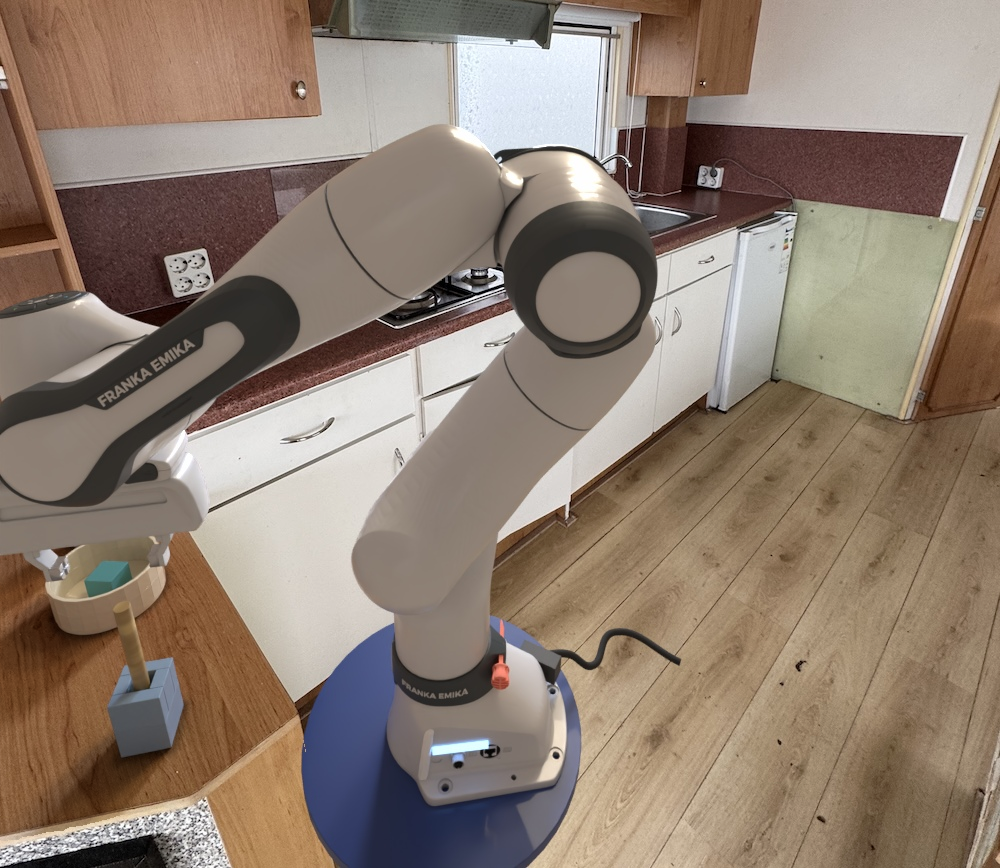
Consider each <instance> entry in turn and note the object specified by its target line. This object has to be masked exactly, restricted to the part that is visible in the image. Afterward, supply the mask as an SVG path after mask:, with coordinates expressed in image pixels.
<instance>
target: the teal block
mask: <svg viewBox="0 0 1000 868" xmlns="http://www.w3.org/2000/svg"><path fill="white" fill-rule="evenodd" d="M131 580H133V579H132V575H131V571H130V567H129V563H128V562H118V561H102V562H101V563H100V564H99V565H98V566H97V567H96V569H95V570H94V571H93V572H92V573H91V574H90V575H89V576H88V577H87V578H86V579H85V580H84V583H85V586H86V590H87V593H88V597H89V598H90V597H95V596H98V595H101V594H105V593H108V592H110V591H112V590H114V589H117V588H119V587H121V586H123V585H124V584H126V583H128V582H129V581H131Z"/></svg>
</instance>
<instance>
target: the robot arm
mask: <svg viewBox="0 0 1000 868" xmlns="http://www.w3.org/2000/svg"><path fill="white" fill-rule="evenodd" d="M500 158H501V160H500V161H499V162H498V159H500ZM498 264H499V265H501V268H502V272H503V274H502V275H503V286H504V289H505V293H506V296H507V299H508V301H509V303H510V305H511V307H512V309H513V310H514V312H515V314H516V315H517V317H518V319H519V320H520V321H521V323H523V326H522V327H521V328H520V329H519V330H518V331H517V332H516V333H515V334H514V336H513V337H512V338H510V339H509V341H508V342H507V343H506V344H505V346H503V347H502V349H501V350H500V352H498V354H497V355H496V356H495V357H494V358H493V359H492V360H491V362H490V363H489V364H488V365H487V367H486V368H485V369H484V370H483V371H482V372H481V373H480V375H479V376H478V377H477V378H476V379H475V381H474V382H473V383H472V384H471V385H470V386H469V387H468V389H467V390H466V391H465V392H464V393H463V394H462V395H461V397H460V398H459V399H458V400H457V401H456V402H455V404H454V405H453V406H452V407H451V409H450V410H449V412H448V413H447V414H446V415H445V417H443V419H442V420H441V422H440V423H439V424H438V425H437V426H435V427H434V428H432V429H431V430H430V431H429V432H428V433H427V434H425V435H424V437H422V439H421V440H420V441H419V443H417V445H416V447H415V448H414V449H413V450H412V452H411V453H410V455H408V457H407V458H406V459H405V462H403V464H402V465H401V466H400V468H399V469H398V471H396V473H395V474H394V476H393V477H392V478H391V480H390V481H389V482H388V484H387V485H386V486H385V488H384V489H383V491H382V492H381V493H380V494H379V496H378V497H377V498H376V500H375V501H374V502H373V504H372V505H371V507H370V508H369V511H368V512H367V515H366V517H365V518H364V521H363V523H362V525H361V528H360V530H359V532H358V535H357V536H356V537H357V538H356V539H355V543H354V545H353V547H352V550H351V556H350V564H351V565H350V566H351V569H352V573H353V577H354V578H355V580H356V584H357V585H358V586H359V588H360V589H361V591H362V592H363V594H364V595H365V596H366V597H367V598H368V600H370V602H372V603H373V604H375V605H376V606H377V607H379V608H380V609H382V610H385V611H386V612H389V613H393V623H394V627H395V633H394V638H393V642H392V647H391V663H392V672H393V677H394V683H395V693H394V699H393V703H392V706H391V709H390V712H389V715H388V720H387V740H388V744H389V748H390V751H391V753H392V755H393V757H394V759H395V760H396V762H397V763H398V764H399V765H400V767H401V768H402V769H403V770H404V771H406V772H407V773H408V774H409V775H410V776H411V777H412V778H413V779H414V780H415V781H416V783H417V785H418V787H419V790H420V792H421V794H422V796H423V798H424V800H425V801H426V803H428V804H429V805H431V806H440V805H446V804H452V803H458V802H464V801H469V800H475V799H481V798H487V797H493V796H499V795H505V794H511V793H516V792H522V791H528V790H534V789H540V788H545V787H550V786H553V785H555V784H556V782H557V780H558V779H559V777H560V775H561V773H562V770H563V767H564V763H565V759H566V752H567V723H566V713H565V707H564V702H563V698H562V695H561V692H560V689H559V687H558V685H557V683H556V680H557V678H558V676H559V674H560V670H562V658H565V659H570V660H572V661H573V662H575V663H576V664H577V665H578V666H579V667H580V668H583V669H584V670H587V671H594V670H597V668H599V667H600V666H601V664H602V662H603V660H604V656H605V653H606V649H607V645H608V643H609V640H611V638H613V637H617V636H624V637H625V636H626V637H628V638H632V639H635V640H637V641H639V643H642V644H644V645H645V646H647V647H648V648H649V649H651V650H653V651H654V652H655V653H656V654H658V655H660V656H661V657H663V658H664V659H666V660H667V661H669V662H671V663H673V664H675V665H676V666H677V667H680V666H681V664H682V663H681V662H682V658H681V657H679V656H677V655H675V654H673V653H671V652H669V651H668V650H666V649H665V648H663V647H662V646H660V645H659V644H657V643H656V642H655V641H653V640H651V639H650V638H648V637H647V636H646V635H644V634H642V633H640V632H638V631H636V630H633V629H629V628H625V627H616V628H615V627H614V628H611V629H608V630H607V631H605V632H604V633H603V635H602V637H601V639H600V641H599V644H598V647H597V651H596V652H597V653H596V655H595V657H594V659H593V660H592V661H587V660H585V659H584V658H583V657H581V656H580V655H579V654H577V653H576V652H574V651H573V650H570V649H565V648H563V649H562V648H556V649H547V648H545V647H544V646H543V647H544V648H543V647H540V646H538V645H536V644H534V643H532V642H530V641H527V640H524V642H523V644H522V646H521V647H520V649H519V648H517V647H515V646H513V645H511V644H509V643H507V641H506V639H504V626H503V621H502V620H503V619H502V620H501V621H500V634H499V633H498V632H497V631H496V630H495V629H494V628H493V627H492V626H491V625H490V615H491V586H492V578H493V571H494V566H495V560H496V554H497V553H496V552H497V545H498V538H499V532H501V530H502V529H503V527H504V526H505V525H506V524H507V523H508V522H509V520H510V519H511V517H512V516H513V515H514V514H515V512H517V510H518V509H519V508H520V506H521V505H522V503H523V502H524V501H525V500H526V498H527V497H528V495H529V494H530V493H531V492H532V490H533V489H534V488H535V486H536V485H538V483H539V482H540V481H541V480H542V478H543V477H544V476H545V475H546V474H547V473H548V472H549V471H550V470H551V469H553V467H554V466H555V465H556V464H557V463H558V462H559V461H560V460H561V459H562V458H563V457H564V456H565V455H566V454H567V453H568V452H570V450H571V449H572V448H574V447H575V446H576V445H577V444H578V443H579V442H580V441H581V440H582V439H583V438H584V437H585V436H586V435H587V434H588V433H589V432H590V431H592V430H593V429H594V427H596V426H597V424H599V422H601V420H603V419H604V417H605V416H606V415H608V414H609V412H610V411H611V410H612V409H613V408H614V406H616V404H617V403H618V402H619V401H620V400H621V398H622V397H623V396H624V395H625V394H626V392H627V391H628V390H629V388H630V387H631V386H632V385H633V383H634V382H635V380H636V379H638V377H639V375H640V374H641V372H642V370H643V369H644V368H645V366H646V364H647V363H648V362H649V360H650V358H651V357H652V355H653V353H654V350H655V347H656V341H657V332H656V327H655V323H654V321H653V318H652V316H651V314H650V311H651V308H652V306H653V303H654V300H655V297H656V292H657V288H658V287H657V286H658V279H659V278H658V275H659V270H658V269H659V267H658V260H657V254H656V250H655V245H654V243H653V240H652V238H651V236H650V234H649V232H648V231H647V229H646V228H645V226H644V225H643V224H642V220H641V218H640V215H639V214H638V212H637V210H636V207H635V205H634V204H633V202H632V200H631V198H630V196H629V194H628V193H627V192H626V191H625V189H624V188H623V187H622V185H620V184H619V183H618V182H617V181H616V180H614V179H613V177H612V176H611V175H610V173H609V172H608V170H607V169H606V167H605V166H604V165H603V164H602V162H600V161H599V160H598V159H597V158H596V157H594V155H592V154H590V153H589V152H587V151H585V150H583V149H581V148H579V147H577V146H576V147H575V146H571V145H568V144H542V145H537V146H533V147H521V148H505V149H501V150H499V151H496V152H495V153H494V154H492V152H490V150H489V149H488V148H487V146H486V145H485V144H484V143H482V142H481V140H479V139H478V138H477V137H476V136H474V134H471V133H470V132H468V131H467V130H465V129H463V128H461V127H458V126H456V125H453V124H447V123H436V124H431V125H428V126H425V127H423V128H421V129H418V130H416V131H414V132H411V133H409V134H407V135H405V136H402V137H400V138H398V139H396V140H394V141H392V142H390V143H388V144H386V145H383V146H382V147H380V148H378V149H376V150H375V151H373V152H371V153H369V154H368V155H366V156H364V157H362V158H360V159H359V160H357V161H356V162H354V163H353V164H351V165H349V166H348V167H346V168H345V169H344V170H341V171H340V172H339V173H337V174H336V175H334V176H333V177H331V178H330V179H328V180H327V181H325V183H323V184H321V186H319V187H317V188H316V189H315V190H314V191H313V192H311V193H310V194H309V195H308V196H306V197H305V198H304V199H302V200H301V202H300V203H298V204H297V205H296V206H295V207H294V208H292V209H291V210H290V211H289V212H288V213H287V214H286V215H285V216H284V217H283V218H281V219H280V221H278V222H277V223H276V224H275V225H274V226H273V227H272V228H271V229H270V230H269V231H268V232H267V233H266V234H265V235H264V236H263V237H262V238H260V240H259V241H258V242H257V243H256V244H254V246H252V247H251V248H250V250H249V251H248V252H246V253H245V254H244V255H243V256H242V257H241V258H240V259H239V260H238V261H237V262H236V263H235V264H234V265H232V267H231V268H229V270H228V271H226V272H225V273H224V274H223V275H222V276H221V277H220V278H219V279H217V281H216V282H214V283H213V284H212V285H211V286H210V287H209V288H208V289H207V290H206V291H204V292H203V294H202V295H200V296H199V297H198V298H197V299H196V300H195V301H194V302H193V303H191V304H190V305H189V306H188V307H186V308H185V309H184V310H182V312H180V313H179V314H177V315H176V316H174V317H173V318H172V319H170V320H168V321H167V322H166V323H164V324H163V325H161V326H156V325H152V324H149V323H145V322H142V321H139V320H136V319H134V318H131V317H128V316H126V315H123V314H121V313H119V312H117V311H115V310H113V309H111V308H109V306H107V305H106V304H105V303H104V302H103V301H101V299H100V298H99V297H98V296H97V295H95V294H94V293H93V292H92V293H91V292H89V291H85V290H84V291H83V290H64V291H57V292H52V293H48V294H45V295H41V296H37V297H32V298H29V299H26V300H23V301H20V302H18V303H15V304H12V305H10V306H8V307H5V308H3V309H2V310H0V400H1V402H0V557H1V556H9V555H17V554H22V556H23V559H24V560H25V561H26V562H28V563H29V564H30V565H32V566H33V567H35V568H37V569H38V570H40V571H42V574H43V576H44V579H45V582H52V581H60V580H64V579H65V578H66V575H67V574H68V573H69V571H70V564H68V563H67V562H68V557H67V556H65V555H62V556H59V555H58V554H57V553H55V552H54V551H53V550H55V549H62V548H63V549H65V548H70V547H74V546H80V545H88V544H96V543H103V542H111V541H119V540H127V539H135V538H143V537H150V536H153V537H155V539H156V542H158V543H159V544H153V545H152V547H151V551H150V552H149V554H148V556H147V557H148V561H149V562H150V564H149V566H150V568H152V567H160V566H164V567H166V566H167V565H168V563H169V560H170V557H171V552H170V547H169V545H170V543H171V541H172V540H173V537H174V534H181V533H190V532H195V531H197V530H199V529H200V528H201V526H202V525H203V523H204V522H205V520H206V519H207V516H208V514H209V513H208V512H209V510H210V507H211V500H210V498H211V497H210V493H209V489H208V485H207V481H206V477H205V476H204V472H203V470H202V467H201V465H200V462H199V461H198V460H197V459H196V457H195V456H194V455H192V454H191V453H189V452H188V451H187V449H188V443H189V436H188V434H187V432H186V429H188V428H189V427H190V426H191V425H192V424H194V423H195V422H196V421H197V420H198V419H200V417H201V416H202V415H204V414H205V413H206V412H207V411H208V410H209V408H210V407H212V406H213V405H214V404H215V403H216V401H217V399H218V398H219V397H220V396H222V395H223V394H225V393H227V392H228V391H229V390H231V389H233V388H234V387H236V386H237V385H239V384H240V383H242V382H244V381H245V380H247V379H250V378H251V377H253V376H255V375H258V374H259V373H261V372H264V371H266V370H268V369H269V368H272V367H274V366H276V365H278V364H280V363H283V362H285V361H287V360H289V359H291V358H294V357H296V356H298V355H299V354H302V353H304V352H307V351H308V350H311V349H312V348H315V347H317V346H319V345H322V344H324V343H326V342H328V341H330V340H333V339H335V338H338V337H340V336H342V335H344V334H347V333H349V332H352V331H353V330H356V329H358V328H360V327H362V326H364V325H366V324H369V323H370V322H371V323H372V322H373V321H375V320H377V319H379V318H381V317H382V316H385V315H387V314H388V313H390V312H392V311H394V310H396V309H397V308H399V307H401V306H403V305H405V304H406V303H408V302H410V301H411V300H413V299H415V298H416V297H418V296H420V295H421V294H422V293H424V292H425V291H427V290H428V289H430V288H432V287H433V286H434V285H436V284H437V283H439V282H440V281H441V280H442V279H444V278H446V277H447V276H449V277H450V276H453V275H455V274H457V273H460V272H463V271H467V270H473V269H478V268H479V269H481V268H497V266H498ZM550 692H553V693H555V694H550ZM553 756H558V757H559V759H554V758H553ZM443 788H448V789H449V790H448V791H447V792H443V791H442V789H443Z"/></svg>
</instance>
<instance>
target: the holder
mask: <svg viewBox="0 0 1000 868" xmlns="http://www.w3.org/2000/svg"><path fill="white" fill-rule="evenodd" d="M145 663H146V667H147V671H148V675H149V679H150V683H151V686H150V689H147V690H142V691H137V692H135V691H134V687H133V683H132V680H131V676H130V672H129V668H128V665H127V664H125V665H124V666H123V668H122V669H121V673H120V675H119V677H118V680H117V682H116V685H115V687H114V690H113V692H112V694H111V697H110V699H109V701H108V704H107V706H106V710H107V714H108V716H109V720H110V724H111V727H112V730H113V733H114V738H115V741H116V745H117V747H118V751H119V755H120V757H121V758H127V757H131V756H136V755H137V756H138V755H142V754H146V753H151V752H157V751H161V750H165V749H170V748H172V747H173V743H174V740H175V737H176V733H177V730H178V726H179V723H180V719H181V715H182V713H183V709H184V705H185V704H184V701H183V700H184V699H183V696H182V692H181V687H180V683H179V680H178V674H177V671H176V666H175V661H174V657H167V658H160V659H155V660H149V661H145Z"/></svg>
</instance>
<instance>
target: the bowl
mask: <svg viewBox="0 0 1000 868" xmlns="http://www.w3.org/2000/svg"><path fill="white" fill-rule="evenodd" d="M153 544H160V542H156V539H155V536H150V537H143V538H135V539H127V540H119V541H111V542H103V543H96V544H88V545H81V546H79V547H77V548H76V547H74V549H73V550H71V551H69V552H68V553H67V554H65V555H64V556H67V557H68V562H67V563H68V564H70V571H69V573H68V574H67V575H66V578H65V579H64V580H60V581H52V582H46V581H45V583H44V588H45V591H46V592H45V593H46V595H47V598H48V601H49V604H50V608H51V611H52V614H53V617H54V621H55V623H56V625H57V627H59V629H61V630H62V631H64V632H65V633H68V634H71V635H78V636H88V635H96V634H100V633H105V632H107V631H111V630H113V629H116V628H118V627H117V624H116V620H115V616H114V613H113V608H114V607H115V606H116V605H117V604H118V603H120V602H123V601H128V602H130V604H131V608H132V612H133V616H134V619H136V618H137V617H138V616H141V614H143V613H144V612H145V611H147V610H148V609H149V608H150V607H151V606H152V605H153V604H154V603H155V602H156V601H157V599H158V598H159V597H160V596H161V594H162V593H163V590H164V589H165V585H166V580H167V576H166V569H165V566H160V567H152V568H150V566H149V564H150V562H149V561H148V557H147V556H148V554H149V552H150V551H151V547H152V545H153ZM102 561H118V562H128V563H129V567H130V571H131V575H132V579H133V580H131V581H129V582H128V583H126V584H124V585H123V586H121V587H119V588H117V589H114V590H112V591H110V592H108V593H105V594H101V595H98V596H95V597H90V598H89V597H88V593H87V590H86V586H85V583H84V580H85V579H86V578H87V577H88V576H89V575H90V574H91V573H92V572H93V571H94V570H95V569H96V567H97V566H98V565H99V564H100V563H101V562H102Z"/></svg>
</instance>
